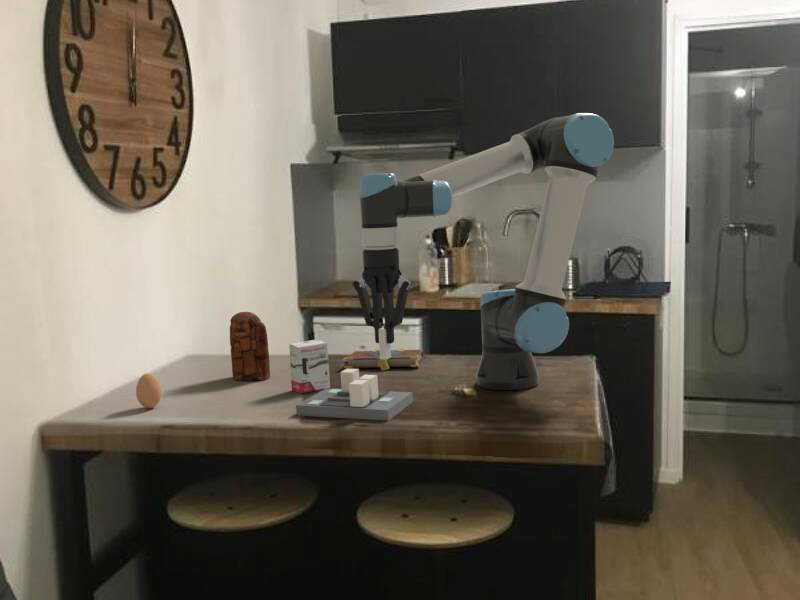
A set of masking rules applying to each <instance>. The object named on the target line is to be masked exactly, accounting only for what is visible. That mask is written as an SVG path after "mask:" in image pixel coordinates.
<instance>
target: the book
mask: <svg viewBox="0 0 800 600" xmlns="http://www.w3.org/2000/svg"><path fill="white" fill-rule="evenodd" d="M423 359H424V349H404V348H399V349H398V350H397V349H396V350H393V349H391V357H390V358H389V359H387V360H382V359H380V351H379V348H376V349H373V350H355V351H353V352H352V353H350V354H349V355H348V356H346V357H345V356H344V357H343V358H342V361H343V362H342V361H341V362H339V364H344V363H347V364H345V365H344V366H343V368H344V369H359V368H380V370H381V371H387V370H390V368H394V367H395V368H401V367H402V368H403V367H405V368H406V367H407V368H408V367H411V368H417V367H420V363H421V362H422V361H423Z"/></svg>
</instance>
